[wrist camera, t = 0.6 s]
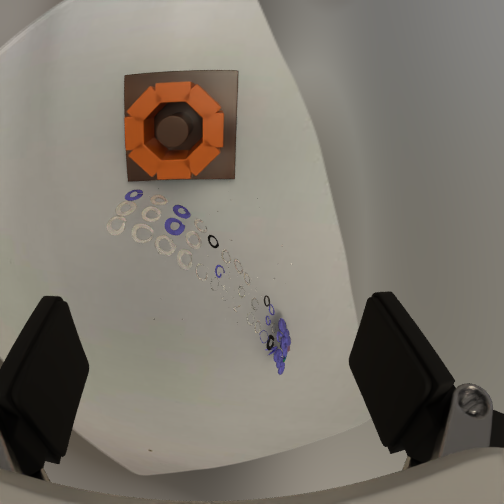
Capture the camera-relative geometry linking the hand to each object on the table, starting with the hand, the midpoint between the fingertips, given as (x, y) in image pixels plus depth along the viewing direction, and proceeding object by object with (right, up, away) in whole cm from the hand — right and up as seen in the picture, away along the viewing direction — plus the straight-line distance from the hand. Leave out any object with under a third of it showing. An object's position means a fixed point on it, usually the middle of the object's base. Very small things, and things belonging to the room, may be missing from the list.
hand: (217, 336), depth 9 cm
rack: (-5, +13, +15) cm, 21 cm away
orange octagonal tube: (-5, +12, +14) cm, 19 cm away
